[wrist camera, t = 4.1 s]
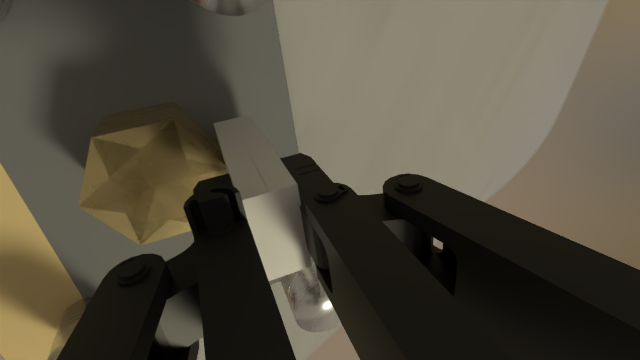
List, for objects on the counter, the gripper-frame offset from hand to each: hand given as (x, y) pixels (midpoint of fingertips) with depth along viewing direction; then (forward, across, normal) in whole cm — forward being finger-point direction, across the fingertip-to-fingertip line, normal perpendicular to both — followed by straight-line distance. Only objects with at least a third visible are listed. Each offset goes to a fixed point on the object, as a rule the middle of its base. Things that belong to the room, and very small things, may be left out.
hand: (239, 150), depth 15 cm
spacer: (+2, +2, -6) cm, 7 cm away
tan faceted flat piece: (+1, -3, 0) cm, 3 cm away
